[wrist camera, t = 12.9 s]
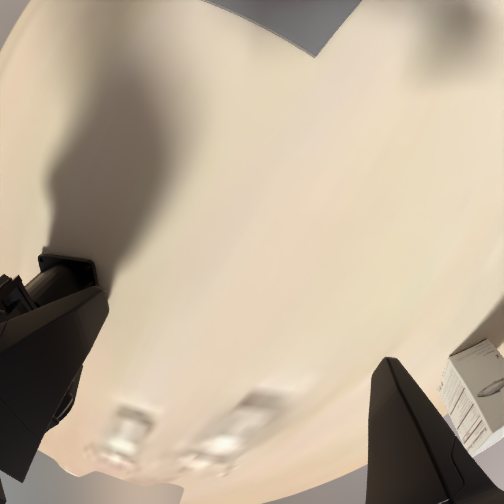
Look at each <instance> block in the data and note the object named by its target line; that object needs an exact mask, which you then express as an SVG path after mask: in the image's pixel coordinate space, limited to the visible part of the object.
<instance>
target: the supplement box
mask: <svg viewBox="0 0 504 504" xmlns="http://www.w3.org/2000/svg"><path fill="white" fill-rule="evenodd" d="M437 391H438V393H439V394H440V397H441V399H442V401H443V403H444V405H445V407H446V409H447V411H448V413H449V415H450V417H451V419H452V421H453V423H454V426H455V428H456V430H457V432H458V434H459V437H460V439H461V441H462V443H463V446H464V447H465V449H466V450H467V452H468V453H469V454H470V455H471V457H474V456H475V455H477V454H479V453H480V452H482V451H484V450H485V449H487V448H488V447H490V446H492V445H493V444H495V443H496V442H498V441H499V440H500V439H502V438H504V358H503V357H502V355H501V354H500V353H499V351H498V350H497V349H496V347H495V346H494V345H493V344H492V342H491V341H490V340H489V339H486V340H484V341H483V342H481V343H479V344H477V345H475V346H473V347H471V348H469V349H467V350H465V351H462V352H460V353H458V354H456V355H453V356H450V357H449V358H448V361H447V363H446V366H445V369H444V372H443V375H442V378H441V381H440V383H439V386H438V389H437Z"/></svg>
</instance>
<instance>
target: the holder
mask: <svg viewBox="0 0 504 504" xmlns="http://www.w3.org/2000/svg"><path fill="white" fill-rule="evenodd" d="M202 1H205V2H208V3H210V4H213V5H215V6H218V7H220V8H222V9H225V10H227V11H229V12H232V13H234V14H236V15H238V16H240V17H243V18H245V19H247V20H249V21H251V22H253V23H255V24H257V25H259V26H261V27H263V28H265V29H266V30H268V31H270V32H272V33H274V34H276V35H277V36H279V37H281V38H283V39H285V40H286V41H288V42H290V43H291V44H293V45H295V46H296V47H298V48H300V49H301V50H303V51H304V52H306V53H307V54H309V55H311V56H312V57H314V58H315V57H316V56H317V55H318V53H319V52H320V51H321V49H322V48H323V47H324V46H325V44H326V43H327V42H328V41H329V39H330V38H331V37H332V36H333V34H334V33H335V32H336V31H337V30H338V28H339V27H340V26H341V25H342V23H343V22H344V21H345V20H346V19H347V17H348V16H349V15H350V14H351V13H352V12H353V10H354V9H355V8H356V7H357V6H358V5H359V3H360V2H361V1H362V0H202Z"/></svg>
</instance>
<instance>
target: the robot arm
mask: <svg viewBox="0 0 504 504" xmlns="http://www.w3.org/2000/svg"><path fill="white" fill-rule="evenodd" d="M38 262H39V267H40V271H41V272H40V273H39V274H38V275H37V276H36V277H35V278H33V279H32V280H31V281H30V282H29V283H28V284H27V285H26V286H24V285H23V283H22V280H21V278H20V276H19V275H18V276H16V277H15V278H14V279H12V278H11V277H10V278H9V277H8V276H6V275H5V274H3V275H2V276H1V277H0V470H1V471H3V472H4V473H6V474H8V475H9V476H11V477H12V478H14V479H16V480H18V481H19V482H21V483H23V481H24V479H25V477H26V474H27V472H28V470H29V467H30V465H31V463H32V460H33V458H34V456H35V454H36V451H37V449H38V447H39V445H40V443H41V440H42V438H43V436H44V434H45V433H46V432H47V431H48V430H49V429H51V428H53V427H54V426H56V425H58V424H59V421H61V420H62V419H63V418H64V417H65V416H66V415H67V414H68V413H69V411H70V410H71V408H72V406H73V404H74V401H75V397H76V393H77V388H78V384H79V380H80V376H81V372H82V368H83V365H82V364H83V362H84V360H85V359H86V357H87V355H88V354H89V352H90V350H91V348H92V346H93V344H94V342H95V340H96V338H97V336H98V334H99V332H100V330H101V328H102V326H103V324H104V322H105V320H106V318H107V316H108V313H109V305H108V300H107V294H106V291H105V290H104V289H103V288H100V287H99V286H98V282H97V276H96V270H95V265H94V263H93V262H92V261H91V260H86V259H79V258H71V257H64V256H57V255H51V254H44V253H42V254H40V255H39V256H38ZM88 265H89V266H90V268H89V267H88ZM5 503H6V498H5V494H4V491H3V487H2V483H1V479H0V504H5ZM365 504H504V491H502V490H501V489H499V488H498V487H497V486H496V485H495V484H494V483H493V482H492V481H491V480H490V479H489V477H488V476H487V475H486V474H485V473H484V471H483V470H482V469H481V468H480V467H479V465H478V464H477V463H476V462H475V460H474V459H473V458H472V457H471V455H470V454H469V453H468V452H467V450H466V449H465V447H464V446H463V445H462V443H461V442H460V441H459V439H458V438H457V436H455V434H454V432H453V431H452V430H451V428H450V427H449V425H448V424H447V423H446V421H445V420H444V419H443V417H442V416H441V414H440V413H439V412H438V410H437V409H436V408H435V406H434V405H433V404H432V402H431V401H430V400H429V399H428V397H427V396H426V395H425V393H424V392H423V391H422V389H421V388H420V387H419V385H418V384H417V383H416V382H415V380H414V379H413V378H412V377H411V375H410V374H409V373H408V371H407V370H406V369H405V368H404V366H403V365H402V364H401V363H400V361H399V360H398V359H397V358H393V357H385V358H383V359H382V361H381V362H380V364H379V365H378V367H377V368H376V370H375V371H374V373H373V375H372V378H371V393H370V406H369V418H368V474H367V491H366V503H365Z"/></svg>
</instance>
